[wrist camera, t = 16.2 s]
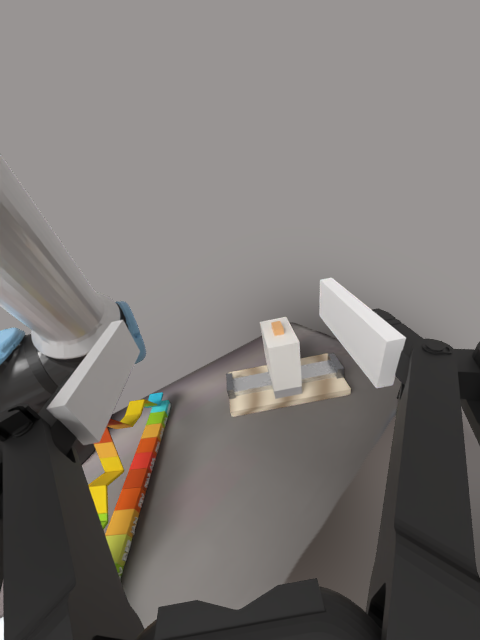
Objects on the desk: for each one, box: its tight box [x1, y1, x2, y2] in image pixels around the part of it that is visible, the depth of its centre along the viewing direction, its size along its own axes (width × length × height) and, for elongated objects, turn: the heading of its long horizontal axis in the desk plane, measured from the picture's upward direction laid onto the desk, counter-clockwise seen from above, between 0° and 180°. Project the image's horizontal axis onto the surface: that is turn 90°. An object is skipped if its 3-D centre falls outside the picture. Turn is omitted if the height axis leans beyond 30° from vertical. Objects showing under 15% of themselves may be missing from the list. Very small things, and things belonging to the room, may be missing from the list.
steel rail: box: [226, 353, 344, 399], centre depth 44 cm, size 22×4×2 cm, turn 95°
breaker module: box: [260, 317, 302, 399], centre depth 41 cm, size 5×8×13 cm, turn 5°
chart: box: [88, 392, 171, 579], centre depth 29 cm, size 30×3×15 cm, turn 1°
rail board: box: [228, 353, 351, 417], centre depth 45 cm, size 22×10×2 cm, turn 95°
